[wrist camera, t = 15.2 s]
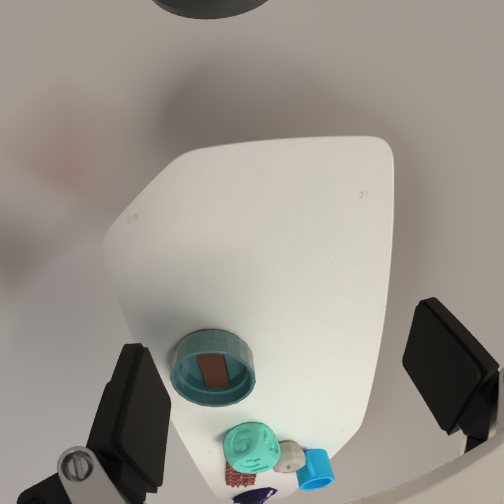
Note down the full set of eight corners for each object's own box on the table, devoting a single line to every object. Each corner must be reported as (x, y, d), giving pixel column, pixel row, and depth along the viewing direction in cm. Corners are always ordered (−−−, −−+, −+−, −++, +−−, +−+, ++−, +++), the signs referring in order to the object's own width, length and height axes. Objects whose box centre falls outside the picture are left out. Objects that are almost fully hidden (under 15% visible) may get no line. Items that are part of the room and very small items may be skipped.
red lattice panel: (226, 482, 59) (226, 488, 58) (226, 451, 53) (226, 459, 51) (253, 481, 60) (254, 487, 58) (259, 451, 53) (260, 458, 51)
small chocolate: (195, 342, 40) (194, 350, 38) (220, 339, 40) (220, 347, 38) (207, 380, 43) (206, 388, 41) (229, 378, 43) (230, 386, 41)
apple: (290, 431, 51) (296, 457, 45) (309, 443, 54) (315, 466, 48) (259, 446, 52) (262, 471, 46) (279, 456, 55) (283, 479, 49)
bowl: (159, 354, 41) (153, 377, 36) (213, 313, 39) (212, 335, 34) (213, 393, 45) (213, 415, 40) (268, 358, 43) (272, 381, 38)
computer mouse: (283, 491, 65) (285, 502, 61) (244, 503, 67) (245, 512, 64) (265, 485, 62) (267, 497, 58) (225, 497, 64) (225, 507, 61)
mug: (328, 457, 58) (336, 483, 50) (297, 467, 58) (303, 493, 51) (321, 438, 53) (330, 467, 46) (286, 449, 54) (291, 478, 46)
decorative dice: (244, 446, 52) (247, 476, 44) (222, 430, 49) (222, 464, 42) (278, 433, 51) (283, 465, 43) (257, 417, 48) (262, 452, 41)
